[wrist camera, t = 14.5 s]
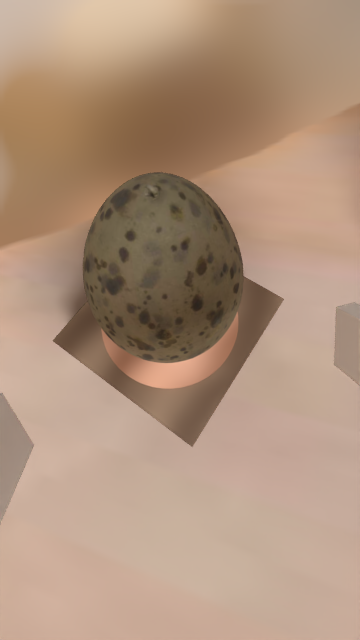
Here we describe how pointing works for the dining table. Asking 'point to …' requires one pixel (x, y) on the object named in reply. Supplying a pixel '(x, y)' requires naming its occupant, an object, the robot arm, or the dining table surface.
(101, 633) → the dining table surface
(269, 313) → the pedestal
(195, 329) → the decorative egg
